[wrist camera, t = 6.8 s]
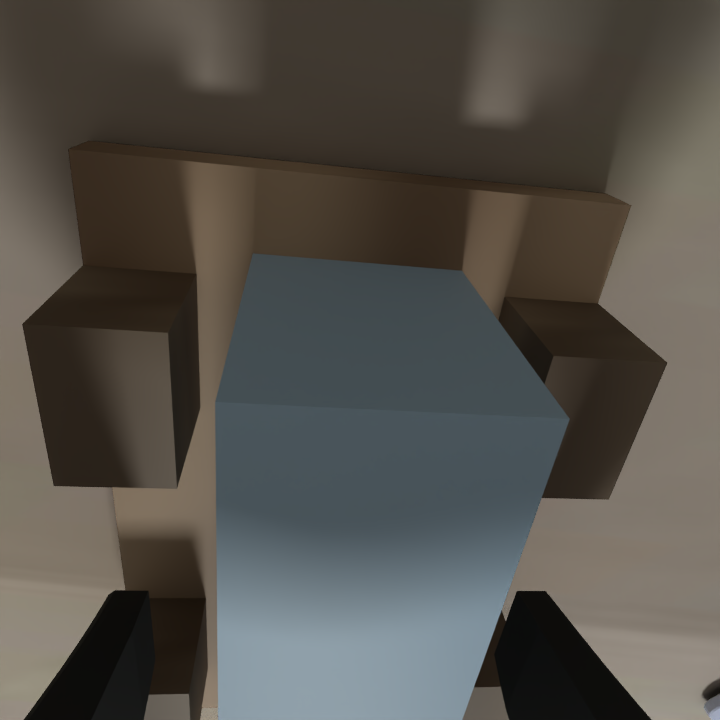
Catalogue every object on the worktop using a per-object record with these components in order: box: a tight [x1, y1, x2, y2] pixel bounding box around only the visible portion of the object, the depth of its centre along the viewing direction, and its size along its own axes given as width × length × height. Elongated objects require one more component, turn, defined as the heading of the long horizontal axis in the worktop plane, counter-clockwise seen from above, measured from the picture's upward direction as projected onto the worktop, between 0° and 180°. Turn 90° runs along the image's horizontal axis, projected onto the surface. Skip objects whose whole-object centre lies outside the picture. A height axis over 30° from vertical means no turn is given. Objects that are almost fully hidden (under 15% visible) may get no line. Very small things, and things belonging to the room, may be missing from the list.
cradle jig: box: [22, 141, 667, 720], centre depth 13 cm, size 10×16×4 cm, turn 174°
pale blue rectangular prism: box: [215, 253, 569, 720], centre depth 12 cm, size 4×14×5 cm, turn 173°
